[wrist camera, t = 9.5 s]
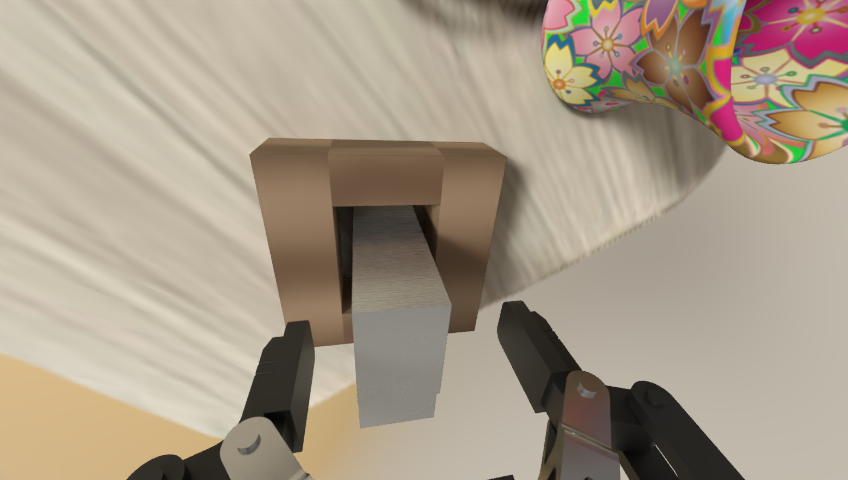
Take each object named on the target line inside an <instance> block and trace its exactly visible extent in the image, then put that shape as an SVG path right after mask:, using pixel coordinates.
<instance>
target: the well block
mask: <svg viewBox="0 0 848 480" xmlns="http://www.w3.org/2000/svg"><path fill="white" fill-rule="evenodd" d="M249 155H250V160H251V164H252V169H253V174H254V179H255V183H256V188H257V193H258V197H259V202H260V207H261V212H262V216H263V221H264V226H265V230H266V235H267V240H268V245H269V249H270V254H271V259H272V264H273V268H274V273H275V278H276V282H277V287H278V292H279V297H280V301H281V306H282V311H283V315H284V320H285V325H287V323H288V322H292V321H303V320H309V322H310V327H311V332H312V338H313V343H314V347H319V346H329V345H339V344H349V343H354V338H353V323H352V279H348V280H344V274H343V262H342V250H341V238H340V225H339V213H338V206H387V205H426V212H425V227H424V237H425V239H426V242H427V244H428V247H429V249H430V252H431V254H432V257H433V259H434V262H435V264H436V267H437V269H438V272H439V274H440V277H441V279H442V282H443V285H444V287H445V290H446V292H447V295H448V297H449V300H450V302H451V305H452V306H451V313H450V321H449V328H448V333H456V332H467V331H474V330H475V324H476V319H477V314H478V309H479V303H480V298H481V293H482V288H483V282H484V277H485V272H486V266H487V261H488V256H489V250H490V245H491V240H492V234H493V229H494V224H495V218H496V213H497V208H498V202H499V197H500V192H501V186H502V181H503V176H504V170H505V165H506V160H507V157H505V156H504V155H502V154H500V153H499V152H497V151H495V150H494V149H492V148H491V147H489V146H487V145H486V144H484V143H475V142H429V141H382V140H336V139H289V138H268V139H267V140H266V141H265V142H264V143H262V144H261V145H260V146H259V147H258V148H256V149H255V150H254V151H253V152H252V153H251V154H249Z"/></svg>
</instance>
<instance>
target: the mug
mask: <svg viewBox="0 0 848 480" xmlns="http://www.w3.org/2000/svg"><path fill="white" fill-rule="evenodd" d="M541 49H542V59H543V65H544V69H545V73H546V75H547V78H548V81H549V83H550V85H551V87H552V88H553V90H554V91H555V93H556V94H557V95H558V96H559V97H560V98H561V99H562V100H563V101H564V102H565V103H567V104H568V105H569V106H571V107H573V108H575V109H577V110H580V111H584V112H589V113H602V112H608V111H612V110H616V109H619V108H621V107H623V106H626V105H628V104H630V103H636V102H646V103H654V104H660V105H664V106H667V107H670V108H673V109H676V110H678V111H681V112H683V113H685V114H687V115H689V116H691V117H693V118H694V119H696V120H698V121H699V122H701V123H702V124H704V125H705V126H707V127H708V128H709V129H711V130H712V131H713V132H715V133H716V134H717V135H718V136H719V137H720V138H721V139H722V140H723V141H724V142H725V143H726V144H728V145H729V146H730V147H731V148H732V149H733V150H734V151H736V152H737V153H739V154H741V155H742V156H744V157H746V158H748V159H751V160H754V161H757V162H762V163H767V164H787V163H788V164H789V163H796V162H802V161H807V160H810V159H814V158H817V157H820V156H823V155H825V154H828V153H830V152H833V151H835V150H837V149H839V148H842V147H844V146H846V145H848V0H549V1H548V4H547V7H546V11H545V16H544V21H543V27H542V38H541Z"/></svg>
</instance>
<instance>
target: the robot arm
mask: <svg viewBox="0 0 848 480" xmlns="http://www.w3.org/2000/svg"><path fill="white" fill-rule="evenodd" d="M497 333H498V339H499V341H500V344H501V346H502V348H503V349H504V351H505V353H506V356H507V358H508V360H509V362H510V363H511V365H512V368H513V370H514V372H515V374H516V376H517V378H518V380H519V382H520V384H521V385H522V387H523V390H524V391H525V393H526V395H527V397H528V399H529V401H530V403H531V405H532V407H533V409H534V411H535V413H541V412H546V413H547V415H548V416H549V420H548V423H547V430H546V437H545V443H544V450H543V457H542V464H541V469H540V474H539V477H538V480H620V464H621V466H622V468H623V470H624V471H625V473H626V474H627V476H628V478H629V480H745V479H744V478H743V477H742V476H741V475H740V473H739V472H738V471H737V470H736V469H735V468H734V467H733V465H732V464H731V463H730V462H729V461H728V460H727V458H726V457H725V456H724V455H723V454H722V453H721V452H720V450H718V448H717V447H716V446H715V445H714V444H713V442H712V441H711V440H710V439H709V438H708V437H707V436H706V434H705V433H704V432H703V431H702V430H701V429H700V428H699V426H698V425H697V424H696V423H695V422H694V420H693V419H692V418H691V417H690V416H689V415H688V414H687V413H686V411H685V410H684V409H683V408H682V407H681V406H680V404H679V403H678V402H677V401H676V400H675V399H674V397H672V395H671V394H670V393H668V392H667V391H666V390H665V389H663V388H662V387H660V386H658V385H656V384H654V383H651V382H648V381H638V382H636V383H634V385H633V386H632V388H631V389H624V388H618V387H612V386H607V385H605V384H604V383H603V382H602V381H601V380H600V379H599V378H598V377H596V376H595V375H593V374H591V373H589V372H586V371H582V369H581V368H580V367H579V365H578V364H577V363H576V361H575V360H574V358H573V357H572V356H571V355H570V353H569V352H568V350H567V349H566V347H565V346H564V345H563V343H562V342H561V341H560V339H558V336H557V335H556V334H555V332H554V331H552V328H551V327H550V325H549V324H548V322H547V321H546V320H545V319H544V318H543V317H542V316H540V315H539V314H538V313H536V312H535V311H533V312H530V311H529V309H528V308H527V306H526V305H525V304H524V302H523V301H521V300H520V301H510V302H504V303H503V305H502V309H501V314H500V318H499V322H498V327H497ZM314 361H315V350H314V343H313V338H312V332H311V327H310V322H309V320H303V321H292V322H288V323H287V325H286V329H285V332H284V336H283V337H273V338H272V339H271V340H270V342H269V343H268V344H267V345H266V347H265V348H264V349H263V351H262V355H261V358H260V361H259V365H258V367H257V370H256V375H255V376H254V380H253V383H252V386H251V389H250V392H249V395H248V398H247V401H246V405H245V408H244V411H243V414H242V417H241V419H240V421H239V423H238V425H236V426H235V427H234V428H233V429H232V430H231V431H230V432H229V433H228V434H227V436H226V437H225V439H224V440H223V441H221V442H220V443H218V444H217V445H215V446H213V447H211V448H209V449H207V450H204V451H202V452H200V453H198V454H195V455H193V456H191V457H189V458H187V459H184V460H182V459H181V458H180V457H178V456H177V455H169V454H168V455H162V456H159V457H156V458H154V459H152V460H150V461H148V462H147V463H145V464H143V465H142V466H140V467H139V468H138V469H137V470H135V472H134V473H132V474H131V475H130V476H129V478H128V479H127V480H314V479H313V478H312V477H311V475H310V474H307V473H306V472H305V471H304V470H303V468H302V467H301V465H300V464H299V462H298V461H297V459H296V458H295V456H294V455H293V453H296V452H302V449H303V442H304V434H305V427H306V420H307V413H308V406H309V398H310V391H311V384H312V377H313V369H314ZM655 445H657V447H658V448H659V449H660V451H661V452H662V454H663V455H664V456H665V458H666V459H667V461H668V462H669V463H670V465H671V466H672V468H673V469H674V470H675V472H676V474H677V475H676V474H675V472H674V471H673V470H672V468H671V467H670V466H669V464H668V463H667V461H666V460H665V458H664V457H663V456H662V454H661V453H660V451H659V450H658V449H657V447H656V446H655ZM677 476H678V477H677ZM489 480H514V477H513V475H508V476H503V477H499V478H494V479H489Z"/></svg>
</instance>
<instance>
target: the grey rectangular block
mask: <svg viewBox="0 0 848 480" xmlns="http://www.w3.org/2000/svg"><path fill="white" fill-rule="evenodd" d="M451 306H452V305H451V302H450V300H449V297H448V295H447V292H446V290H445V287H444V285H443V282H442V279H441V277H440V274H439V272H438V269H437V267H436V264H435V262H434V259H433V257H432V254H431V252H430V249H429V247H428V244H427V242H426V239H425V237H424V234H423V232H422V229H421V227H420V224H419V222H418V219H417V217H416V214H415V212H414V209H413V207H412V205H387V206H354V210H353V272H352V323H353V338H354V353H355V367H356V382H357V396H358V404H359V418H360V428H366V427H372V426H379V425H385V424H392V423H397V422H405V421H411V420H418V419H424V418H431V417H434V410H435V402H436V394H437V393H440V387H441V380H442V372H443V365H444V358H445V350H446V343H447V335H448V328H449V321H450V313H451Z"/></svg>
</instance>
